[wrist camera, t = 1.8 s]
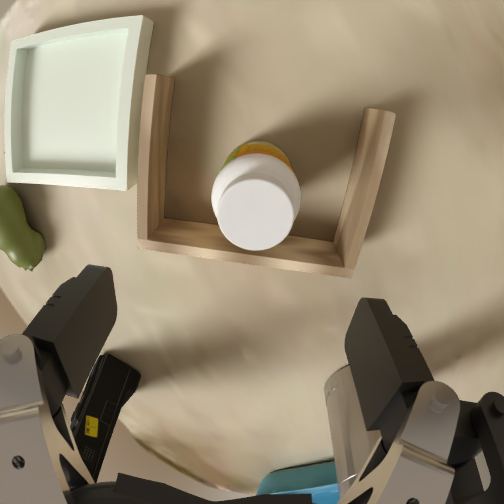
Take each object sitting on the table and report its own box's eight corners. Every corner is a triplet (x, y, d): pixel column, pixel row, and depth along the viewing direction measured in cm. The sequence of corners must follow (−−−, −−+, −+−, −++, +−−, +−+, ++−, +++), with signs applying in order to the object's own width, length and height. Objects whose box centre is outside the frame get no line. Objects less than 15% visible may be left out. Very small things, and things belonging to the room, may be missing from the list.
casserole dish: (269, 494, 61) (269, 517, 54) (236, 468, 51) (234, 497, 45) (412, 463, 54) (417, 486, 47) (419, 428, 44) (429, 458, 38)
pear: (-15, 192, 19) (40, 273, 25) (14, 168, 24) (61, 242, 29) (-37, 214, 20) (13, 286, 26) (-10, 190, 25) (33, 256, 30)
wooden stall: (373, 110, 21) (395, 113, 17) (339, 251, 27) (351, 277, 23) (165, 78, 21) (145, 74, 17) (155, 225, 27) (137, 248, 23)
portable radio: (104, 345, 34) (30, 521, 12) (145, 368, 36) (91, 548, 14) (90, 372, 37) (30, 519, 15) (126, 392, 39) (79, 543, 17)
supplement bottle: (234, 132, 23) (216, 151, 14) (300, 151, 23) (323, 183, 15) (216, 194, 25) (193, 248, 17) (279, 211, 26) (288, 273, 17)
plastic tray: (154, 22, 18) (143, 15, 16) (138, 182, 25) (126, 190, 23) (27, 42, 18) (11, 41, 15) (22, 174, 24) (7, 182, 22)
